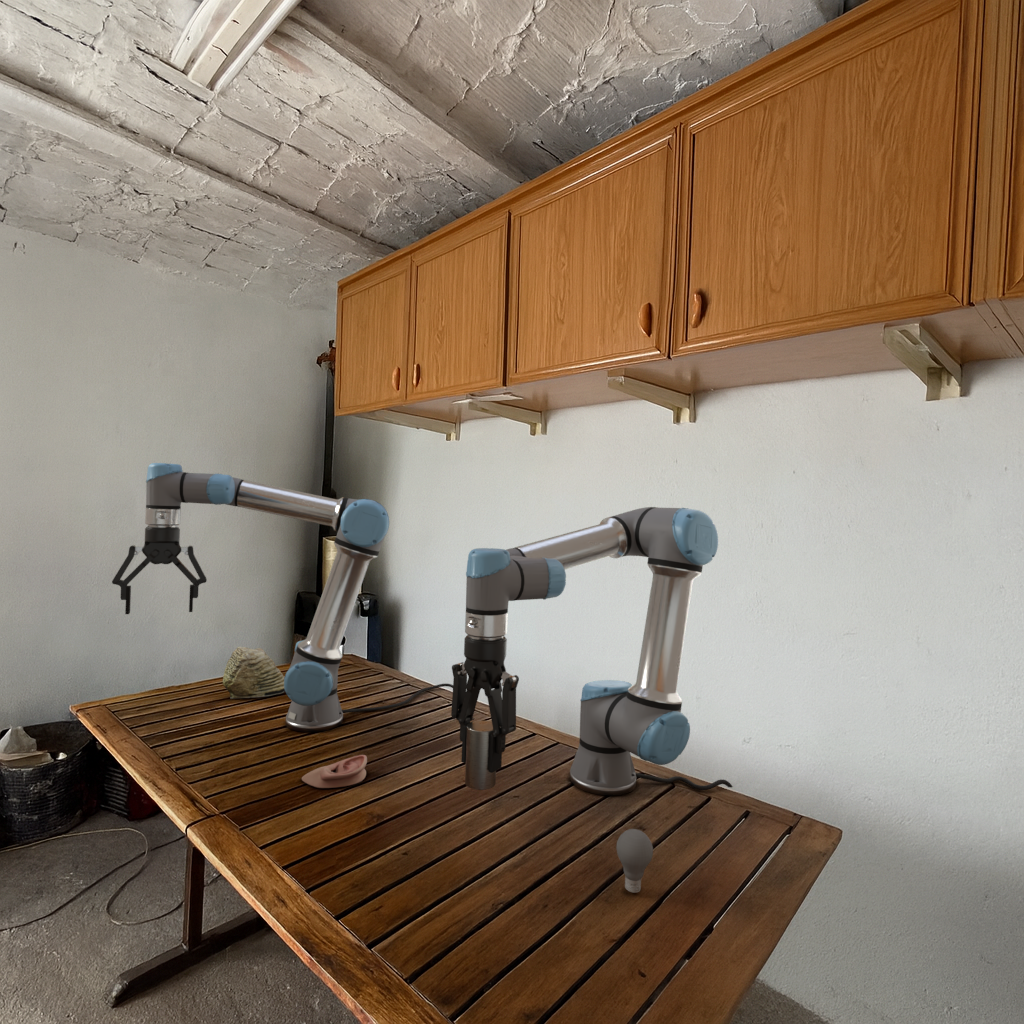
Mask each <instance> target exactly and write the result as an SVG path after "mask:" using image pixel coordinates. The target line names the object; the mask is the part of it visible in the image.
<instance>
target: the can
mask: <svg viewBox="0 0 1024 1024" xmlns="http://www.w3.org/2000/svg"><path fill="white" fill-rule="evenodd" d="M492 733H494V731H493V725H492V721H489V720H472V721H470V723H469V724H468V725H467V737H466V763H465V768H464V769H465V772H464V784H465V787H467V788H469V789H471V790H475V791H485V790H486V791H487V790H490V789H493V788H494V787H495V786H496V784H497V771H495V772H493V773H491V772H489V745H490V734H492Z"/></svg>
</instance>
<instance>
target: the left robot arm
mask: <svg viewBox="0 0 1024 1024" xmlns="http://www.w3.org/2000/svg"><path fill="white" fill-rule="evenodd" d="M145 484H146V486H145V488H146V489H145V515H144V516H145V519H144V523H145V525H147V526H146V527H145V528H144V544H143V546H138V545H134V544H132V545H130V546H129V547H128V554H127V556H126V557H125V559H124V561H123V562H122V564H121V566H120V568H118V571H117V572H116V574H115V576H113V579H112V581H111V583H112V585H116V586H119V587H120V601H125V609H124V613H125V615H130V614H131V599H132V596H131V595H132V585H129V583H131V582H132V581H133V579H135V577H137V576H138V574H140V573H141V572H142V571H143V570H144V569H145V568H146V567H147V566H148V565H149V564H150V563H151V564H153V565H161V564H162V565H170V564H172V563H173V565H174V566H175V567H176V568H178V569H179V571H180V572H181V573H182V574H183V575H184V577H185V578H186V579H188V580H189V581H190V583H191V584H189V601H188V603H189V604H188V612H189V613H193V611H194V608H193V607H194V599H198V598H199V587H200V585H201V584H205V583H207V582H208V581H207V577H206V575H205V573H204V571H203V569H202V567H201V565H200V563H199V561H198V559H197V558H196V556H195V554H194V546H193V545H188V546H181V544H180V542H181V541H180V539H181V537H180V536H181V528H180V527H178V526H180V525H181V510H182V509H181V507H182V506H181V505H182V503H184V504H189V503H190V504H205V505H216V506H217V505H218V506H219V505H227V506H231V507H237V508H243V509H247V510H252V511H256V512H260V513H261V512H262V513H266V514H271V515H275V516H281V517H284V518H290V519H295V520H300V521H303V522H304V521H305V522H309V523H315V524H319V525H323V526H328V527H332V529H333V531H334V532H336V536H335V539H334V542H333V544H334V546H335V549H336V554H335V557H334V559H333V562H332V565H331V568H330V571H329V574H328V577H327V579H326V583H325V585H324V588H323V591H322V594H321V597H320V599H319V602H318V605H317V608H316V610H315V613H314V616H313V619H312V622H311V625H310V628H309V630H308V633H307V636H306V638H305V639H303V640H299V641H297V642H296V643H295V648H294V653H293V657H292V660H291V662H290V666H289V668H288V670H287V671H286V673H285V675H284V677H285V678H284V688H285V691H284V693H285V694H286V695H287V697H288V698H289V700H290V701H291V702H290V704H289V708H288V711H287V713H286V715H285V726H286V728H287V729H289V730H291V731H294V732H295V731H296V732H301V733H316V732H325V731H329V730H332V729H335V728H337V727H339V726H340V725H342V723H343V722H344V714H346V713H347V714H348V713H361V712H375V711H381V710H382V711H383V710H387V709H393V708H398V707H400V706H401V707H402V706H403V705H406V704H408V703H409V702H410V701H412V700H413V699H414V698H415V697H417V696H419V695H420V694H422V693H424V692H427V691H430V690H435V689H439V688H442V687H448V688H452V689H453V684H451V683H439V684H436V685H432V686H433V687H432V686H428V687H424V688H422V689H421V688H420V689H419V690H418V691H417V692H415V693H413V694H412V695H411V696H410V697H408V698H407V699H405V700H402V701H400V702H397V703H393V704H388V705H383V706H375V707H364V708H362V707H361V708H349V709H346V708H345V709H342V706H341V702H340V699H339V695H338V682H339V681H338V680H339V679H338V677H339V668H340V665H341V662H342V659H343V653H342V652H341V649H340V647H341V644H342V641H343V638H344V635H345V633H346V630H347V627H348V625H349V621H350V619H351V617H352V613H353V610H354V608H355V605H356V601H357V599H358V596H359V593H360V591H361V587H362V584H363V581H364V580H365V579H364V578H365V577H366V573H367V570H368V568H369V564H370V562H371V561H372V560H375V559H376V558H378V557H379V554H380V551H381V548H382V546H383V542H384V540H385V537H386V536H387V533H388V531H389V528H390V516H389V513H388V512H387V509H386V508H385V507H384V505H382V504H381V503H380V502H379V501H376V500H374V499H371V498H370V499H369V498H362V499H361V498H360V499H359V498H357V499H356V498H349V497H345V496H342V497H340V498H338V499H337V498H332V497H327V496H322V495H318V494H314V493H313V494H312V493H308V492H305V491H299V490H295V489H290V488H285V487H280V486H276V485H270V484H267V483H261V482H257V481H252V480H247V479H243V478H242V479H241V478H236V477H233V476H231V475H230V474H225V473H224V474H223V473H206V472H205V473H204V472H203V473H201V472H186V471H184V470H183V467H182V465H181V464H178V463H164V462H152V463H150V464H149V465H148V466H147V473H146V481H145ZM140 552H141V553H142V554H143V555H144V556H145V557H146V558H144V559H143V561H142V562H140V564H138V565H137V567H136V568H135V569H133V571H132V572H131V573H130V574H128V575H127V576H126V577H125V578H124V579H122V577H123V576H124V574H125V572H126V571H127V569H128V568H129V566H130V564H131V562H132V561H133V559H134V557H135V556H138V555H139V553H140ZM181 552H182V553H184V555H185V556H187V557H188V560H189V561H190V563H191V565H192V566H193V568H194V571H195V572H196V574H197V576H198V578H196V577H195V575H194V574H193V573H192V572H191V571H190V570H189V569H188V568H187V567H186V566H185V565H184V564H183V563H182V561H181V560H180V559H179V558H178V556H179V555H180V554H181Z"/></svg>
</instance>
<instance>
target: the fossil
mask: <svg viewBox="0 0 1024 1024" xmlns="http://www.w3.org/2000/svg"><path fill="white" fill-rule="evenodd" d="M222 676H223V677H222V685H223V687H224V688H225V690H226V691H228V693H229V698H230V699H250V698H264V697H271V696H275V695H281V694H284V693H285V688H284V678H285V675H284V674H283V673H282V672H281V669H279V668H278V667H277V665H276V663H275V662H274V660H273V659H272V658H271V657H270V656H269V655H268V654H267V653H266V652H265V650H264V649H263V648H260V647H258V648H251V647H247V646H246V647H245V646H238V647H237V648H236V649H235V650H233V651H232V653H231V656H230V657H229V659H228V660H227V663H226V666H225V668H224V671H223V675H222Z"/></svg>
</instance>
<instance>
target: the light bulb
mask: <svg viewBox="0 0 1024 1024" xmlns="http://www.w3.org/2000/svg"><path fill="white" fill-rule="evenodd" d="M615 849H616V854H617V857H618V859H619V861H620V863H621V865H622V867H623V873H624V874H623V875H624V876H625V878H624V888H625V890H627V891H628V892H630V893H634V894H635V893H639V892H640V891H641V889H642V887H641V886H642V879H643V877H644V875H645V871H646V868H647V867H648V866H649V864H650V863H651V861H652V859H653V855H654V847H653V843H652V841H651V838H649V836H648V835H647V834H646V833H645V832H643V831H642V830H641V829H636V828H629V829H627V830H625V831H623V832H622V833H621V834H620V835H619V837H618V839H617V841H616V847H615Z"/></svg>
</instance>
